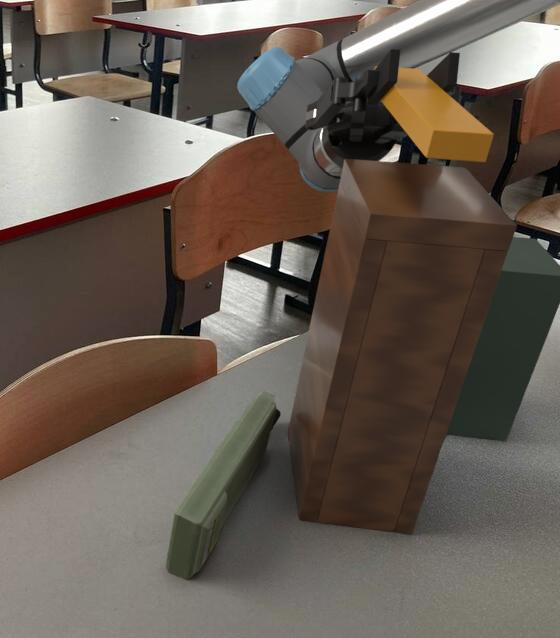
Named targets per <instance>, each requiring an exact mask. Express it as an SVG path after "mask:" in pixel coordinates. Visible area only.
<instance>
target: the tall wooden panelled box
mask: <svg viewBox="0 0 560 638" xmlns="http://www.w3.org/2000/svg"><path fill="white" fill-rule="evenodd" d="M517 227H518V225H517V224H516V223H515V221H514V220H513V219H512V218H511V217H510V216H509V215H508V214H507V213H506V211H505V210H504V209H503V208H502V206H500V204H498V203H497V201H496V200H495V199H494V198H493V197H492V196H491V194H490V193H488V192H487V190H486V189H485V188H484V187H483V186H482V185H481V183H479V181H478V180H477V179H476V178H475V176H473V175H472V173H471V172H470V170H468V169H467V168H466V167H462V166H449V165H436V164H423V163H422V164H421V163H411V162H410V163H409V162H408V163H407V162H395V161H383V160H382V161H381V160H380V161H369V160H356V159H344V164H343V169H342V174H341V179H340V183H339V188H338V190H337V194H336V197H335V203H334V209H333V213H332V218H331V222H330V228H329V233H328V237H327V241H326V246H325V251H324V255H323V260H322V265H321V271H320V276H319V280H318V285H317V289H316V295H315V299H314V305H313V309H312V313H311V317H310V318H311V319H310V324H309V328H308V333H307V338H306V342H305V348H304V352H303V358H302V362H301V367H300V372H299V376H298V381H297V386H296V391H295V396H294V401H293V406H292V411H291V414H290V420H289V424H288V429H287V436H288V437H287V438H288V445H289V452H290V462H291V467H292V469H291V470H292V475H293V484H294V490H295V492H294V493H295V499H296V506H297V513H298V520H299V521H307V522H313V523H321V524H329V525H337V526H338V525H339V526H344V527H352V528H359V529H366V530H367V529H368V530H374V531H382V532H391V533H398V534H406V535H407V534H408V535H413V533H414V530H415V527H416V524H417V522H418V519H419V515H420V513H421V510H422V506H423V504H424V501H425V498H426V495H427V491H428V490H429V486H430V484H431V481H432V477H433V475H434V471H435V469H436V465H437V462H438V460H439V457H440V454H441V451H442V449H443V444H444V442H445V439H446V436H447V434H446V433H447V430H448V427H449V424H450V421H451V418H452V415H453V412H454V410H455V407H456V404H457V401H458V398H459V395H460V392H461V389H462V386H463V383H464V380H465V377H466V374H467V371H468V368H469V365H470V362H471V359H472V356H473V353H474V351H475V348H476V345H477V342H478V339H479V336H480V333H481V330H482V327H483V324H484V321H485V318H486V315H487V312H488V309H489V306H490V303H491V300H492V297H493V295H494V292H495V289H496V286H497V283H498V280H499V277H500V274H501V271H502V268H503V265H504V262H505V259H506V256H507V253H508V251H509V248H510V245H511V242H512V239H513V237H515V233H516V230H517Z"/></svg>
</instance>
